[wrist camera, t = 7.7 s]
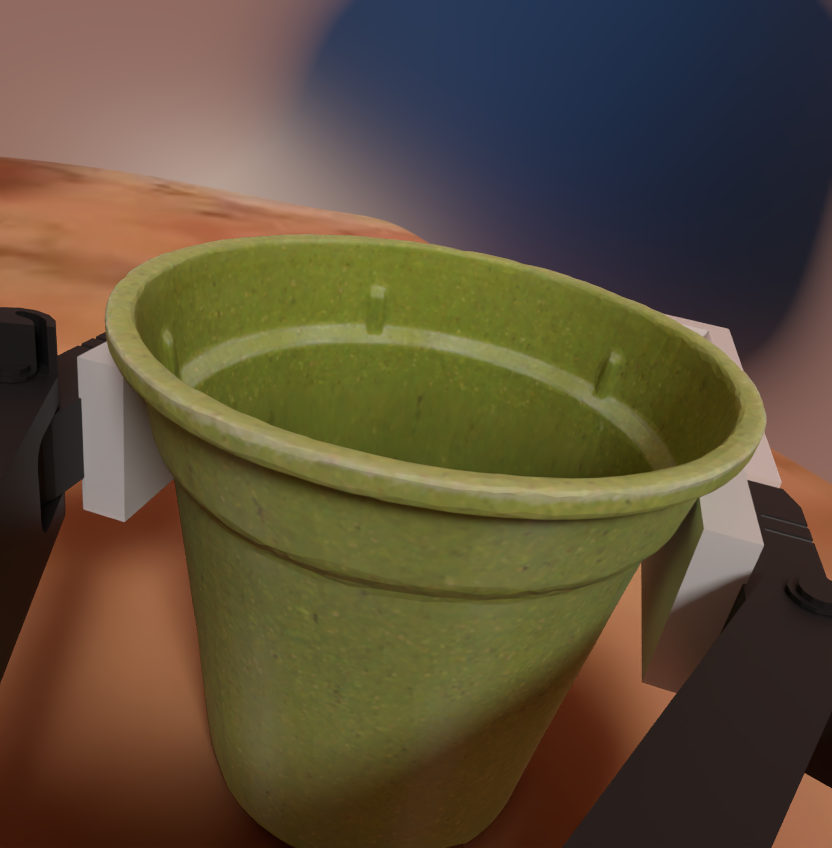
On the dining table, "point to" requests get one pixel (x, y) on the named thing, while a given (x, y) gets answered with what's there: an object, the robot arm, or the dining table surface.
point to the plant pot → (409, 507)
